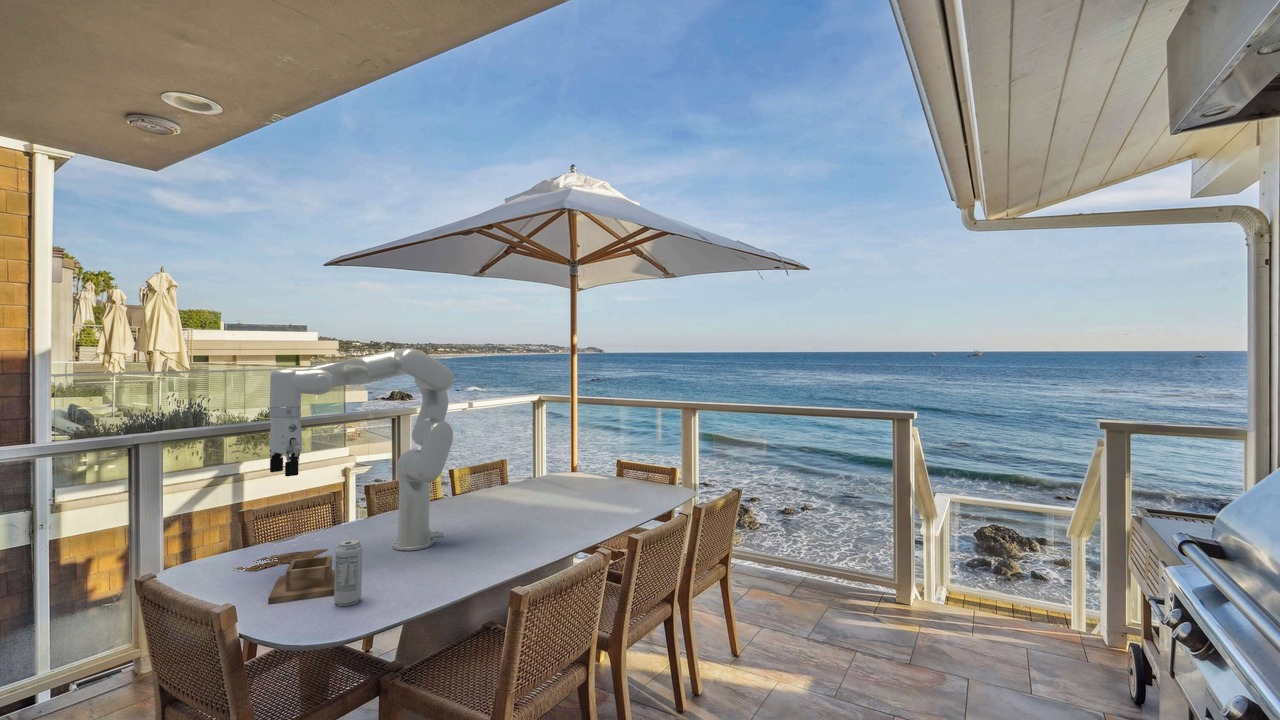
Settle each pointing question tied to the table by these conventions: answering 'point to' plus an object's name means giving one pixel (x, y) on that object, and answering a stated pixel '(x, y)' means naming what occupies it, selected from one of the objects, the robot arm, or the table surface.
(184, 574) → the table surface
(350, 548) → the energy drink can
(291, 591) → the slotted stand
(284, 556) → the wooden fragment
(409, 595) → the table surface
